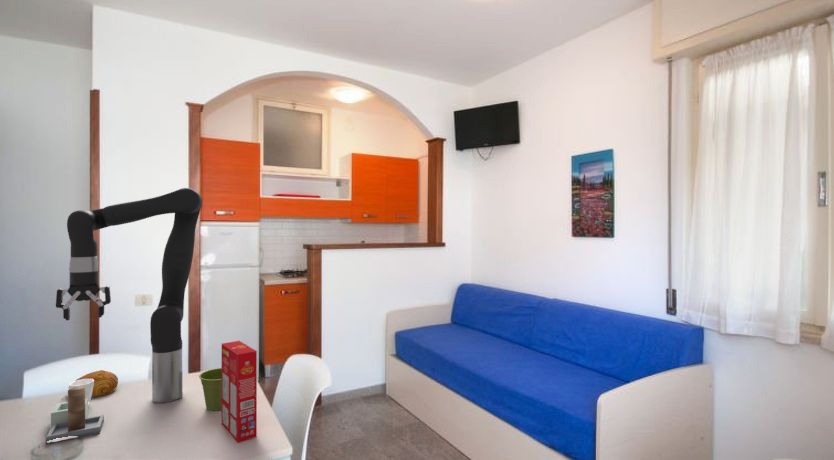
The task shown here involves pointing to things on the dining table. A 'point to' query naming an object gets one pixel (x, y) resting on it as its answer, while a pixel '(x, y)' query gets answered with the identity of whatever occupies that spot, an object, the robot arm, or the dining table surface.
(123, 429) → the dining table surface
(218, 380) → the plant pot
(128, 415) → the dining table surface
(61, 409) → the pot
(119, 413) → the dining table surface
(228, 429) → the food packaging
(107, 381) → the croissant
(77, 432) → the tray
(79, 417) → the wooden dowel
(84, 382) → the cup
